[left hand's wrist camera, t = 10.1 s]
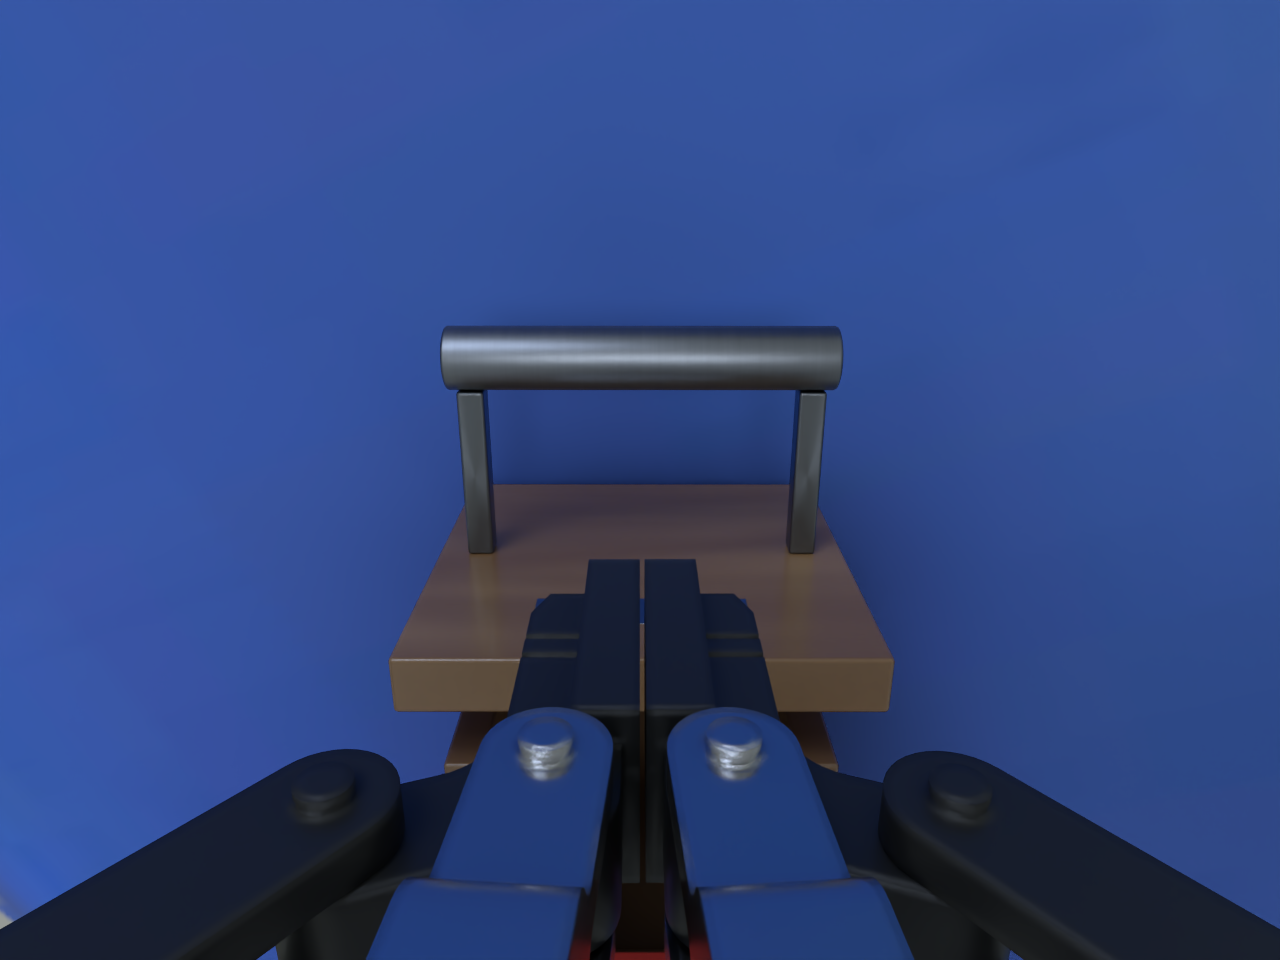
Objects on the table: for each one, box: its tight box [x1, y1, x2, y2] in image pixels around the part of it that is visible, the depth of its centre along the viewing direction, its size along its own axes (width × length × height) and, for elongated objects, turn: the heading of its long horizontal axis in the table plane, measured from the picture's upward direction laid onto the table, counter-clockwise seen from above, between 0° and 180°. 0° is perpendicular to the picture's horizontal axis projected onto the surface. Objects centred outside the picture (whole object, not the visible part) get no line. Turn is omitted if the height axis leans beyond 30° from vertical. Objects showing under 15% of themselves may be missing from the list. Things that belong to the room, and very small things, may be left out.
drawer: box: [389, 326, 895, 952], centre depth 23 cm, size 22×10×9 cm, turn 0°
